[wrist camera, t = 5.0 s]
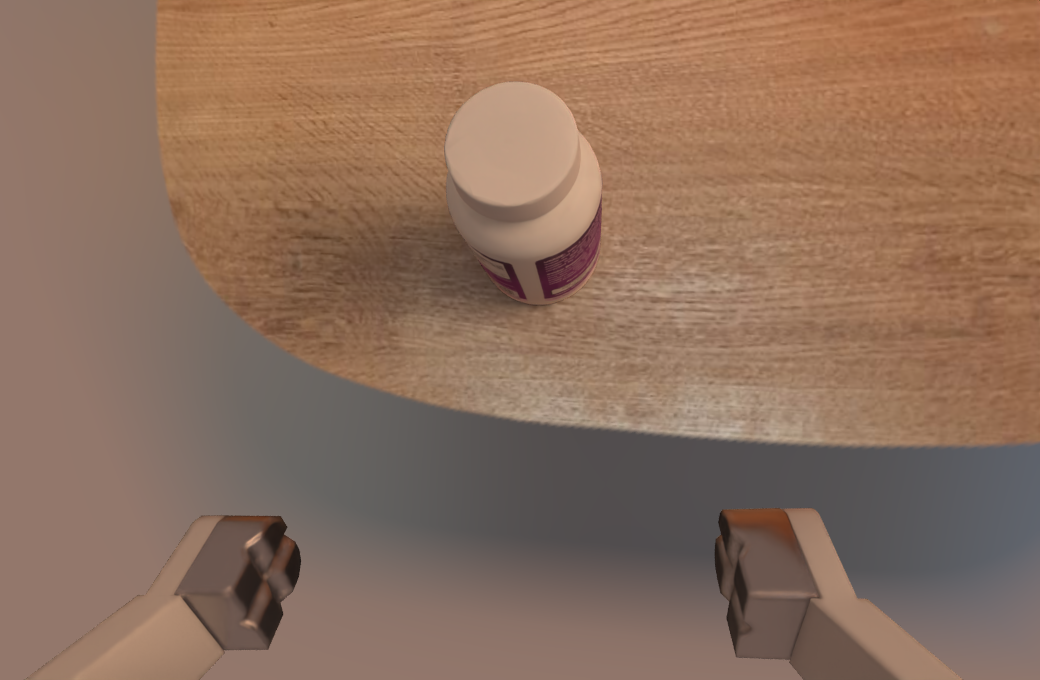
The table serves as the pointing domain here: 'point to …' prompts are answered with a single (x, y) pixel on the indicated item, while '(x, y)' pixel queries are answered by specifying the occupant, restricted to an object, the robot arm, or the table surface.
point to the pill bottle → (525, 191)
